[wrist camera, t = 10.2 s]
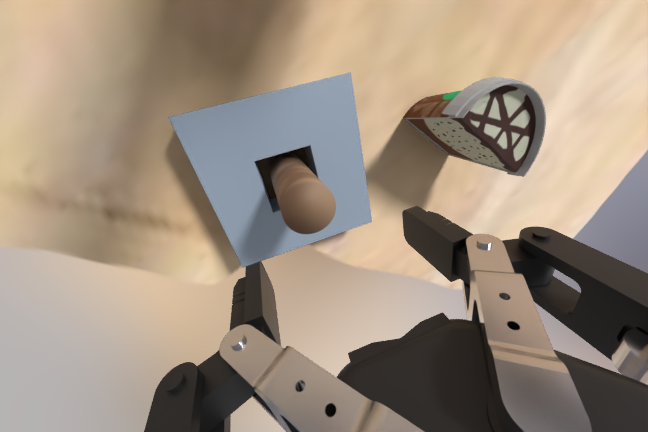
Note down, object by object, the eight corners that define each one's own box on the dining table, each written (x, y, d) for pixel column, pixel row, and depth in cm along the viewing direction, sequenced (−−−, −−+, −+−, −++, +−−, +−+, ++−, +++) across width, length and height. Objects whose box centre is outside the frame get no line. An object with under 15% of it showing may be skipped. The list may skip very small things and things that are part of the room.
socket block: (336, 76, 25) (350, 72, 22) (358, 209, 33) (372, 221, 29) (180, 115, 23) (168, 117, 19) (243, 248, 30) (242, 267, 27)
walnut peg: (298, 148, 27) (330, 175, 17) (307, 180, 29) (340, 224, 18) (264, 158, 26) (274, 193, 16) (275, 190, 28) (291, 241, 18)
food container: (482, 119, 32) (569, 124, 24) (454, 160, 34) (526, 179, 25) (425, 60, 27) (509, 38, 18) (394, 111, 28) (459, 114, 20)
